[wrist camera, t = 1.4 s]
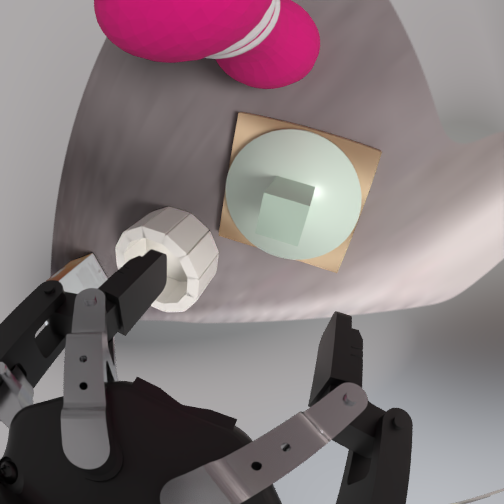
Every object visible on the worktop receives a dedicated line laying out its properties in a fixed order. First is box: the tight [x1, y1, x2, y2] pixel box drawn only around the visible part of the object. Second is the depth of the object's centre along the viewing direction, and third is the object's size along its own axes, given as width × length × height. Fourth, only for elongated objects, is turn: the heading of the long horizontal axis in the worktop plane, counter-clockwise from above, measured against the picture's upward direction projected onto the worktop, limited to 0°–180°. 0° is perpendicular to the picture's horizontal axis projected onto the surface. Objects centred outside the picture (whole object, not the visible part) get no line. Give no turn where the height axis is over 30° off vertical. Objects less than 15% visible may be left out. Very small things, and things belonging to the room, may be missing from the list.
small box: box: [45, 253, 108, 325], centre depth 35 cm, size 8×6×10 cm
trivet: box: [219, 112, 382, 273], centre depth 24 cm, size 12×12×1 cm
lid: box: [226, 129, 361, 260], centre depth 22 cm, size 12×12×5 cm
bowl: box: [115, 207, 219, 312], centre depth 30 cm, size 10×10×5 cm
